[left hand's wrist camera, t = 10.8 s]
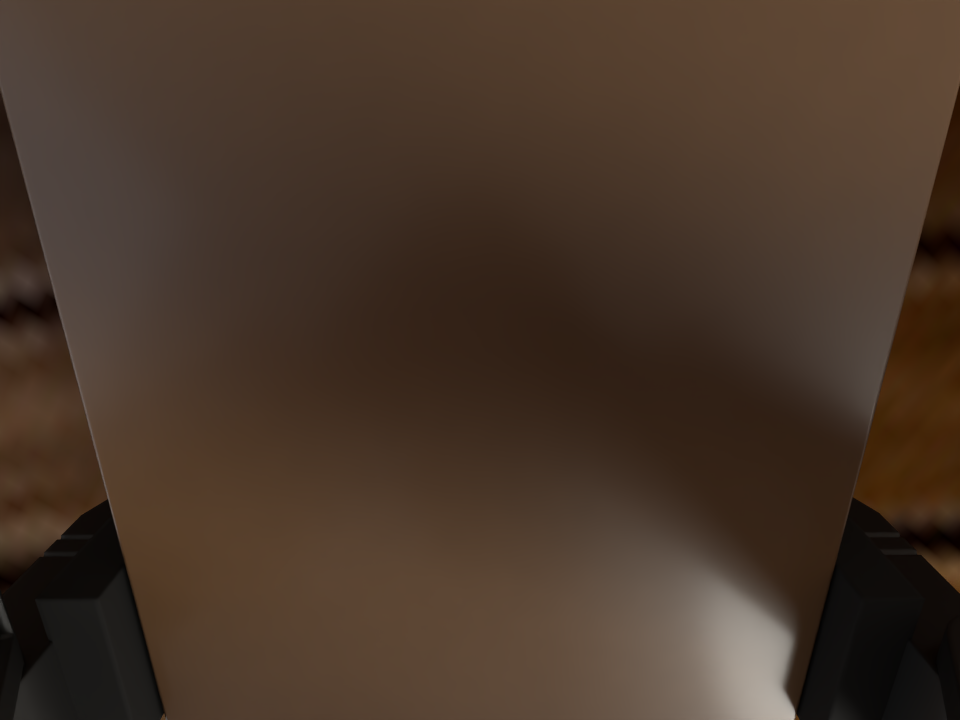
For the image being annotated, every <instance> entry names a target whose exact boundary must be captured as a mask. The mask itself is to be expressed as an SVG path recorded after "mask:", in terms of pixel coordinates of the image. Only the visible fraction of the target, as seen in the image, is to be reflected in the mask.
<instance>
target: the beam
mask: <svg viewBox="0 0 960 720" xmlns="http://www.w3.org/2000/svg"><path fill="white" fill-rule="evenodd" d="M959 85H960V0H0V91H1V95H2V99H3V103H4V107H5V110H6V114H7V118H8V122H9V126H10V129H11V133H12V137H13V141H14V145H15V148H16V152H17V156H18V160H19V163H20V167H21V171H22V175H23V179H24V182H25V186H26V190H27V194H28V198H29V201H30V205H31V209H32V213H33V217H34V220H35V224H36V228H37V232H38V236H39V239H40V243H41V247H42V251H43V255H44V258H45V262H46V266H47V270H48V274H49V277H50V281H51V285H52V289H53V293H54V296H55V300H56V304H57V308H58V311H59V315H60V319H61V323H62V327H63V330H64V334H65V338H66V342H67V346H68V349H69V353H70V357H71V361H72V365H73V368H74V372H75V376H76V380H77V384H78V387H79V391H80V395H81V399H82V403H83V406H84V410H85V414H86V418H87V422H88V425H89V429H90V433H91V437H92V441H93V444H94V448H95V452H96V456H97V459H98V463H99V467H100V471H101V475H102V478H103V482H104V486H105V490H106V494H107V497H108V501H109V505H110V509H111V513H112V516H113V520H114V524H115V528H116V532H117V535H118V539H119V543H120V547H121V551H122V554H123V558H124V562H125V566H126V570H127V573H128V577H129V581H130V585H131V589H132V592H133V596H134V600H135V604H136V607H137V611H138V615H139V619H140V623H141V626H142V630H143V634H144V638H145V642H146V645H147V649H148V653H149V657H150V661H151V664H152V668H153V672H154V676H155V680H156V683H157V687H158V691H159V695H160V699H161V702H162V706H163V710H164V714H165V718H166V720H795V718H796V714H797V710H798V706H799V702H800V698H801V695H802V691H803V687H804V683H805V679H806V675H807V671H808V668H809V664H810V660H811V656H812V652H813V648H814V644H815V641H816V637H817V633H818V629H819V625H820V621H821V617H822V614H823V610H824V606H825V602H826V598H827V594H828V590H829V587H830V583H831V579H832V575H833V571H834V567H835V563H836V560H837V556H838V552H839V548H840V544H841V540H842V536H843V533H844V529H845V525H846V521H847V517H848V513H849V509H850V506H851V502H852V498H853V494H854V490H855V486H856V482H857V478H858V475H859V471H860V467H861V463H862V459H863V455H864V451H865V448H866V444H867V440H868V436H869V432H870V428H871V424H872V421H873V417H874V413H875V409H876V405H877V401H878V397H879V394H880V390H881V386H882V382H883V378H884V374H885V370H886V367H887V363H888V359H889V355H890V351H891V347H892V343H893V340H894V336H895V332H896V328H897V324H898V320H899V316H900V313H901V309H902V305H903V301H904V297H905V293H906V289H907V286H908V282H909V278H910V274H911V270H912V266H913V262H914V259H915V255H916V251H917V247H918V243H919V239H920V235H921V232H922V228H923V224H924V220H925V216H926V212H927V208H928V205H929V201H930V197H931V193H932V189H933V185H934V181H935V178H936V174H937V170H938V166H939V162H940V158H941V154H942V150H943V147H944V143H945V139H946V135H947V131H948V127H949V123H950V120H951V116H952V112H953V108H954V104H955V100H956V96H957V93H958V89H959Z"/></svg>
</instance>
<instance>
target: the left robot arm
mask: <svg viewBox="0 0 960 720" xmlns="http://www.w3.org/2000/svg"><path fill="white" fill-rule="evenodd" d="M163 714H164V710H163V706H162V702H161V699H160V695H159V691H158V687H157V683H156V680H155V676H154V672H153V668H152V664H151V661H150V657H149V653H148V649H147V645H146V642H145V638H144V634H143V630H142V626H141V623H140V619H139V615H138V611H137V607H136V604H135V600H134V596H133V592H132V589H131V585H130V581H129V577H128V573H127V570H126V566H125V562H124V558H123V554H122V551H121V547H120V543H119V539H118V535H117V532H116V528H115V524H114V520H113V516H112V513H111V509H110V505H109V501H108V499H107V500H106V501H104V502H102V503H101V504H99V505H98V506H96V507H94V508H93V509H91V510H89V511H88V512H86V513H84V514H83V515H81V516H80V517H79V518H78V519H77V520H76V521H75V522H74V523H73V524H72V525H71V526H70V527H69V528H68V529H67V530H66V531H65V532H64V533H63V534H62V535H61V540H56V541H55V542H54V543H53V544H52V545H51V546H50V547H49V548H48V549H47V550H46V551H45V552H44V557H39V558H38V559H37V560H36V561H35V562H34V563H33V564H32V565H31V566H30V567H29V568H28V570H27V571H26V572H25V573H24V574H23V575H22V576H21V577H20V578H19V579H18V580H17V581H16V582H15V583H14V584H13V585H12V586H11V587H10V588H9V589H8V590H7V591H6V592H5V593H4V594H3V595H2V594H1V591H0V720H160V719H161V717H162V715H163ZM797 715H798V717H799V719H800V720H960V594H959V593H958V592H957V591H956V590H955V589H954V588H953V587H952V586H951V585H950V584H949V583H948V582H947V581H946V580H945V579H944V578H943V577H942V576H941V575H940V574H939V573H938V572H937V571H936V570H935V569H934V568H933V567H932V566H931V565H930V564H929V563H928V562H927V561H926V560H925V559H924V558H923V557H922V556H921V555H917V553H916V550H915V549H914V548H913V547H912V546H911V545H910V544H909V543H908V542H907V541H906V540H905V539H904V538H903V537H900V536H899V533H898V532H897V531H896V530H895V529H894V528H893V527H892V526H891V525H890V524H889V523H888V522H887V521H886V520H885V519H884V518H883V517H882V516H881V515H880V514H879V513H878V512H876V511H875V510H873V509H871V508H870V507H868V506H866V505H865V504H863V503H861V502H860V501H858V500H856V499H855V498H852V502H851V506H850V509H849V513H848V517H847V521H846V525H845V529H844V533H843V536H842V540H841V544H840V548H839V552H838V556H837V560H836V563H835V567H834V571H833V575H832V579H831V583H830V587H829V590H828V594H827V598H826V602H825V606H824V610H823V614H822V617H821V621H820V625H819V629H818V633H817V637H816V641H815V644H814V648H813V652H812V656H811V660H810V664H809V668H808V671H807V675H806V679H805V683H804V687H803V691H802V695H801V698H800V702H799V706H798V710H797Z"/></svg>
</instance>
